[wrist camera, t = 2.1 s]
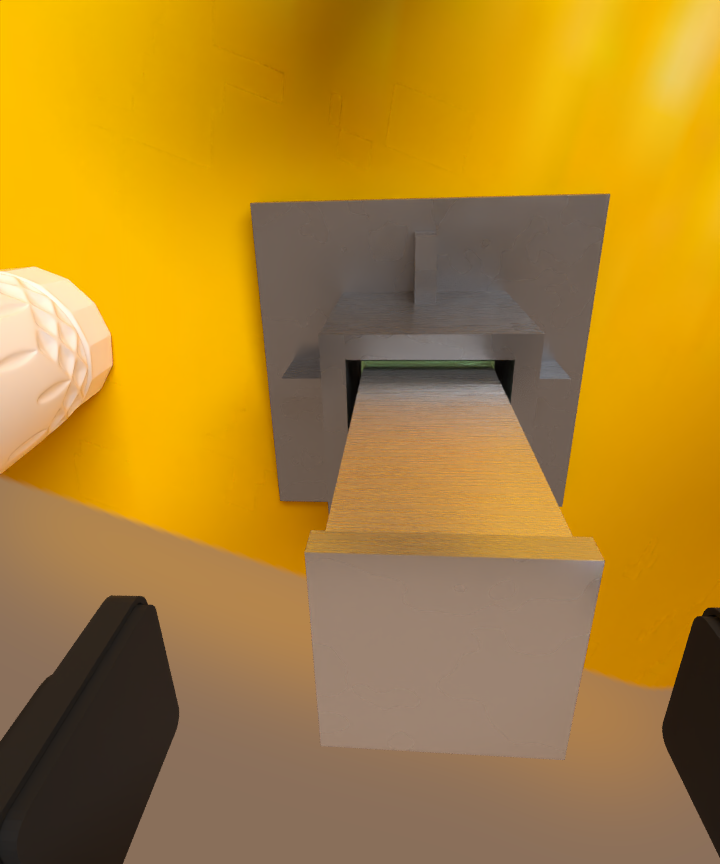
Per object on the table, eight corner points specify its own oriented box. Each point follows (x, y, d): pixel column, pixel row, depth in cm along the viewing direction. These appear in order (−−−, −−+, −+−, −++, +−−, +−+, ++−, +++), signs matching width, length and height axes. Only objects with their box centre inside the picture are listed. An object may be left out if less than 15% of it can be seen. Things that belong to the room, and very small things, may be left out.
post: (477, 318, 23) (604, 560, 8) (471, 419, 25) (564, 760, 10) (368, 319, 23) (305, 552, 9) (370, 418, 25) (320, 745, 10)
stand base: (601, 193, 22) (700, 198, 14) (556, 495, 27) (611, 608, 20) (256, 202, 23) (186, 211, 15) (284, 490, 28) (242, 595, 21)
